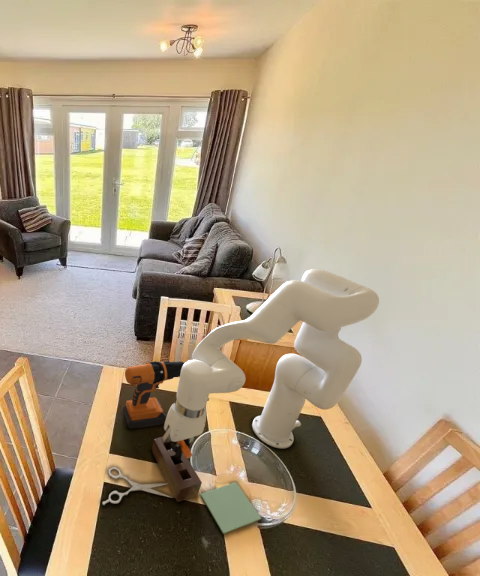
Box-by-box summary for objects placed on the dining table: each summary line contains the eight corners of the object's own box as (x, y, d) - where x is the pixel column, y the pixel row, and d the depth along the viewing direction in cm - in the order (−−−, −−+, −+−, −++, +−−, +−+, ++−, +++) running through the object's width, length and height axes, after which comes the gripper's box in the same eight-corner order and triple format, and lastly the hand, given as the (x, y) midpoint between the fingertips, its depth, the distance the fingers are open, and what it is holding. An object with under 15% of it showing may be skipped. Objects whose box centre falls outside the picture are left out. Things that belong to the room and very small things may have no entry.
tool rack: (170, 446, 102) (172, 433, 99) (197, 495, 88) (202, 482, 86) (151, 451, 100) (153, 439, 97) (177, 502, 87) (180, 489, 84)
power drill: (173, 405, 117) (185, 352, 105) (182, 422, 110) (195, 367, 99) (117, 413, 113) (123, 358, 101) (123, 430, 106) (129, 374, 95)
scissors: (103, 466, 95) (170, 471, 94) (103, 468, 95) (170, 473, 94) (102, 504, 85) (176, 510, 84) (102, 505, 85) (176, 511, 85)
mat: (235, 483, 92) (236, 481, 92) (260, 519, 83) (261, 518, 83) (200, 495, 88) (200, 493, 88) (223, 534, 80) (223, 533, 80)
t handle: (171, 454, 97) (177, 428, 92) (185, 479, 90) (193, 452, 85) (165, 456, 96) (171, 429, 91) (179, 481, 90) (186, 454, 84)
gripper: (207, 387, 87) (196, 432, 95) (155, 399, 82) (148, 445, 91) (225, 408, 80) (211, 454, 89) (169, 423, 76) (161, 470, 84)
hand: (179, 449), depth 90 cm, fingers closed on t handle, 2 cm apart
